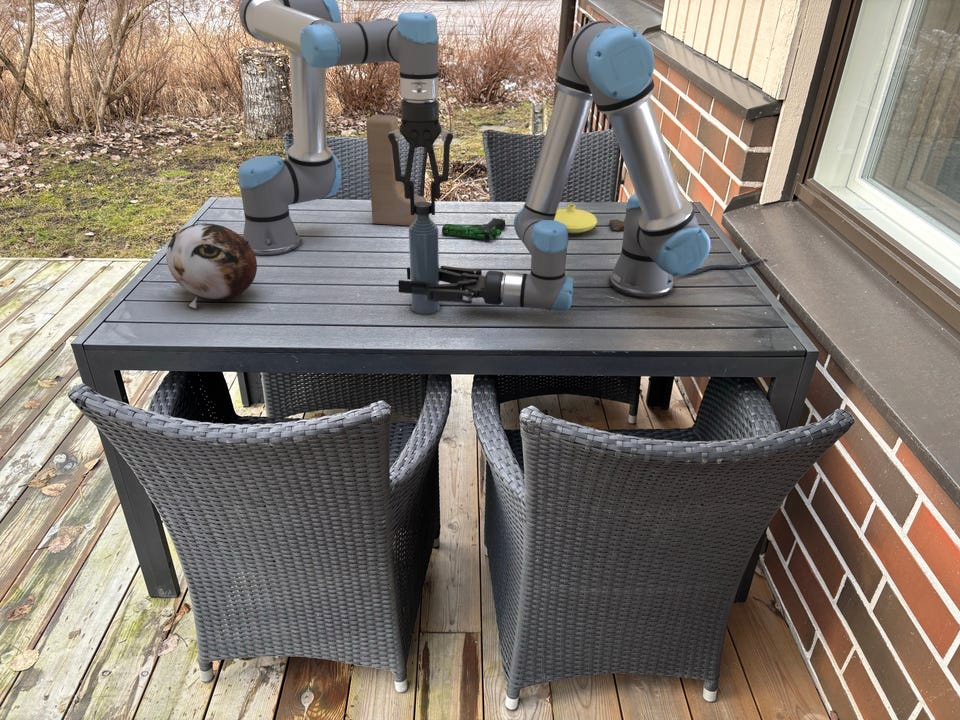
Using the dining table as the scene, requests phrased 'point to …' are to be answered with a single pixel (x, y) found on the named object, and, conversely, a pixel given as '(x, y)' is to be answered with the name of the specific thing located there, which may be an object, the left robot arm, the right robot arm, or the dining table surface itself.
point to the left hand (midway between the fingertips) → (422, 212)
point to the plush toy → (211, 261)
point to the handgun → (476, 230)
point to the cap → (422, 208)
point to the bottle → (424, 261)
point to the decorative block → (386, 175)
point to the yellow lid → (576, 219)
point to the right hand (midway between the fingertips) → (403, 279)
